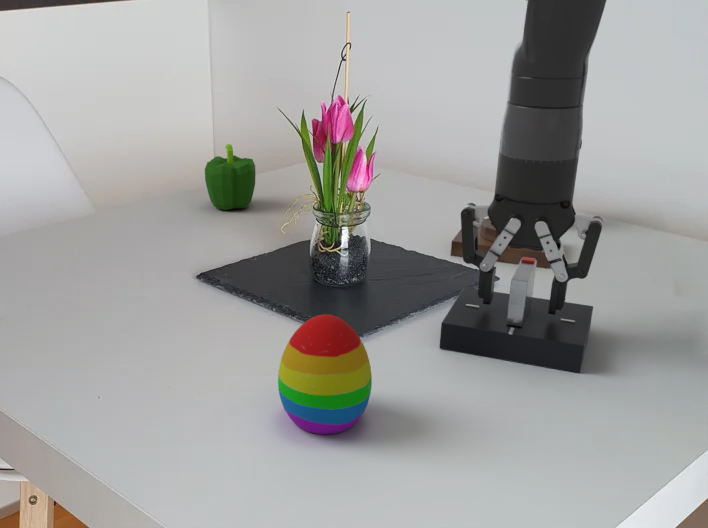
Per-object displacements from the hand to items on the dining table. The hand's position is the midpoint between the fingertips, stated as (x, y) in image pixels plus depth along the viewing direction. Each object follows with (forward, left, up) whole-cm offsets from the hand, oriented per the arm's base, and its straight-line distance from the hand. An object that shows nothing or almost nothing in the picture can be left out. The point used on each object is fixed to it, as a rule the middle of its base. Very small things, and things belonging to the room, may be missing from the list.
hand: (519, 306), depth 88 cm
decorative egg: (+13, +24, -4) cm, 28 cm away
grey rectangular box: (0, 0, -1) cm, 1 cm away
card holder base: (0, 0, -4) cm, 4 cm away
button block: (+6, -29, -4) cm, 30 cm away
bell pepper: (+51, -34, -4) cm, 61 cm away
